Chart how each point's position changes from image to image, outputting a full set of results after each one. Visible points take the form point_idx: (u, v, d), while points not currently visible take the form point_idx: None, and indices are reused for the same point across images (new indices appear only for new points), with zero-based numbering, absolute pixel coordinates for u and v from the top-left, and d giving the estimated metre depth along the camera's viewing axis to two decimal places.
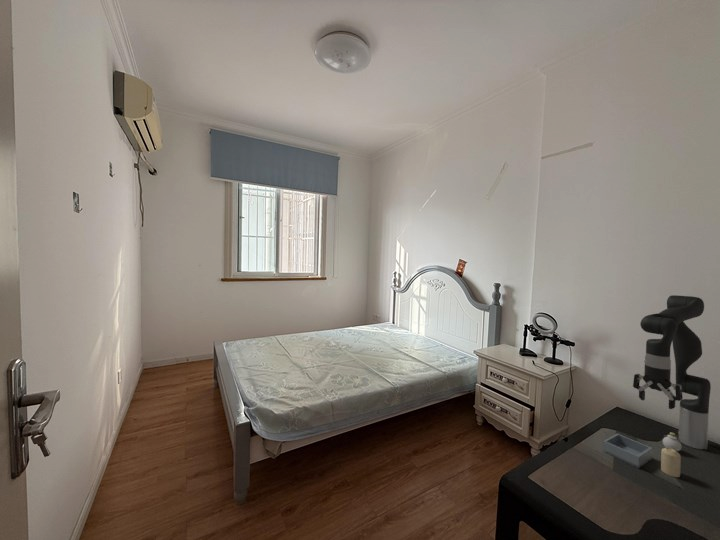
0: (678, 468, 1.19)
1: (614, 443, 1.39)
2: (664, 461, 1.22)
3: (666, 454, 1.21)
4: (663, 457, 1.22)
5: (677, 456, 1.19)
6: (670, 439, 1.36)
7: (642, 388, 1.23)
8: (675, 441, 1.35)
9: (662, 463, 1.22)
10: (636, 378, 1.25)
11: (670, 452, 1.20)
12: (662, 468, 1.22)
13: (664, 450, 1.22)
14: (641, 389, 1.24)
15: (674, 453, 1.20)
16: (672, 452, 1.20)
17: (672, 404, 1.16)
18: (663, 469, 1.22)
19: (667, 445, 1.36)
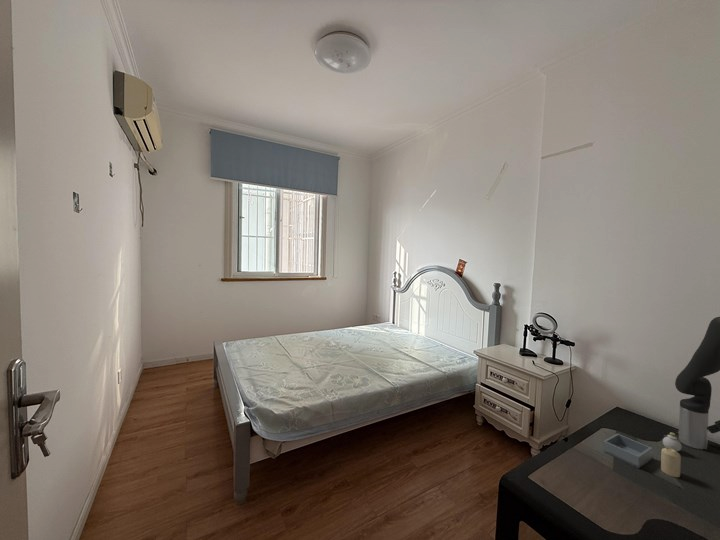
0: (678, 468, 1.19)
1: (614, 443, 1.39)
2: (664, 461, 1.22)
3: (666, 454, 1.21)
4: (663, 457, 1.22)
5: (677, 456, 1.19)
6: (670, 439, 1.36)
7: None
8: (675, 441, 1.35)
9: (662, 463, 1.22)
10: None
11: (670, 452, 1.20)
12: (662, 468, 1.22)
13: (664, 450, 1.22)
14: None
15: (674, 453, 1.20)
16: (672, 452, 1.20)
17: None
18: (663, 469, 1.22)
19: (667, 445, 1.36)
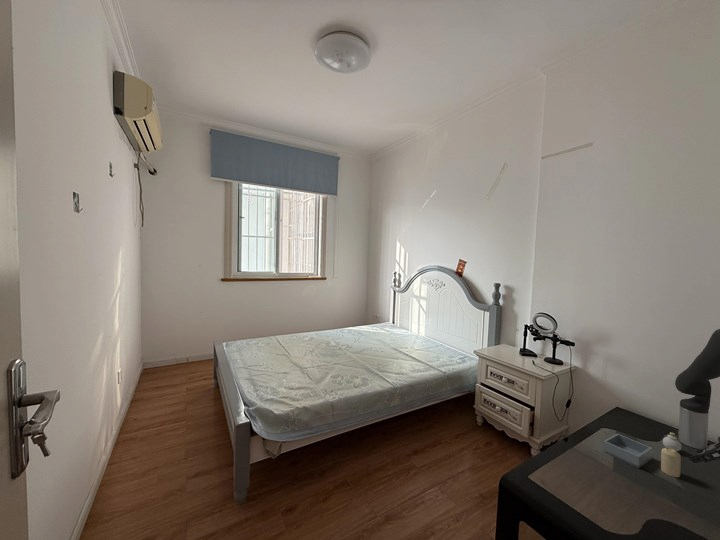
0: (678, 468, 1.19)
1: (614, 443, 1.39)
2: (664, 461, 1.22)
3: (666, 454, 1.21)
4: (663, 457, 1.22)
5: (677, 456, 1.19)
6: (670, 439, 1.36)
7: None
8: (675, 441, 1.35)
9: (662, 463, 1.22)
10: (717, 458, 1.06)
11: (670, 452, 1.20)
12: (662, 468, 1.22)
13: (664, 450, 1.22)
14: None
15: (674, 453, 1.20)
16: (672, 452, 1.20)
17: None
18: (663, 469, 1.22)
19: (667, 445, 1.36)
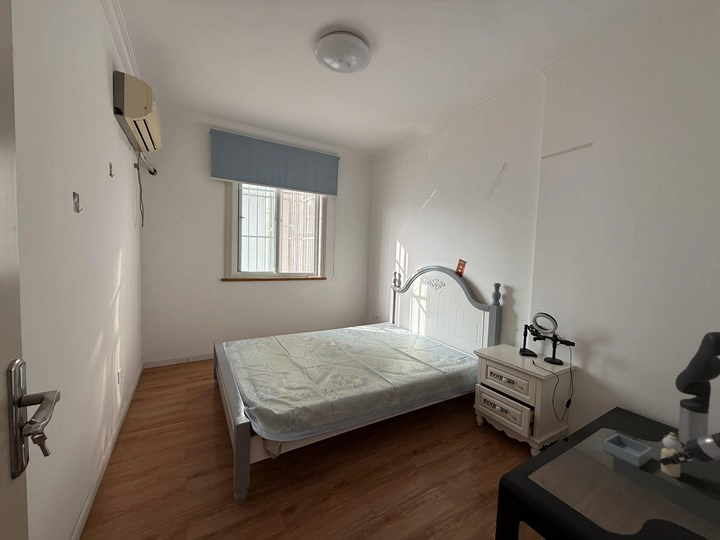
0: (678, 468, 1.19)
1: (614, 443, 1.39)
2: None
3: (666, 454, 1.21)
4: (663, 457, 1.22)
5: None
6: (670, 439, 1.36)
7: None
8: (675, 441, 1.35)
9: None
10: (683, 461, 1.14)
11: (670, 452, 1.20)
12: (662, 468, 1.22)
13: (664, 450, 1.22)
14: None
15: None
16: (672, 452, 1.20)
17: None
18: (663, 469, 1.22)
19: (667, 445, 1.36)
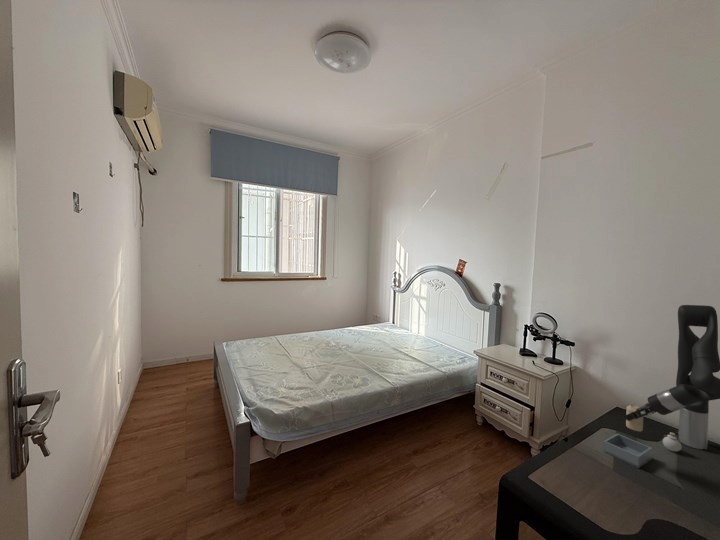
0: (641, 423, 1.28)
1: (614, 443, 1.39)
2: None
3: (630, 410, 1.30)
4: (628, 413, 1.31)
5: None
6: (670, 439, 1.36)
7: None
8: (675, 441, 1.35)
9: None
10: (644, 415, 1.23)
11: (634, 408, 1.29)
12: (627, 424, 1.31)
13: (628, 407, 1.31)
14: None
15: None
16: (635, 408, 1.29)
17: None
18: (628, 425, 1.31)
19: (667, 445, 1.36)
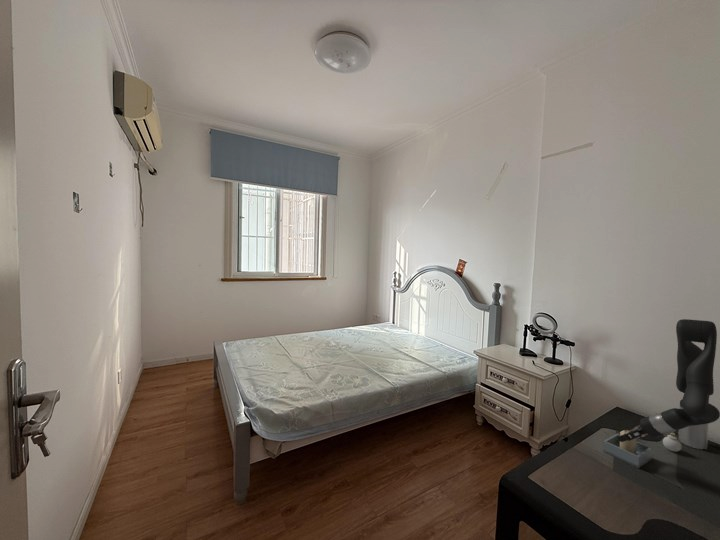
0: (634, 448, 1.30)
1: (614, 443, 1.39)
2: (622, 443, 1.32)
3: None
4: None
5: None
6: (670, 439, 1.36)
7: None
8: (675, 441, 1.35)
9: (620, 444, 1.33)
10: (638, 437, 1.25)
11: None
12: None
13: (622, 432, 1.33)
14: None
15: None
16: None
17: None
18: None
19: (667, 445, 1.36)
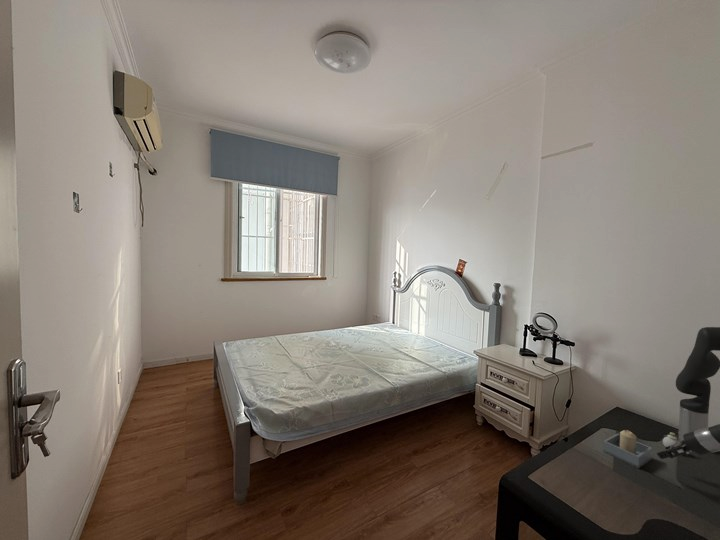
0: (634, 448, 1.30)
1: (614, 443, 1.39)
2: (622, 442, 1.32)
3: (623, 435, 1.32)
4: (621, 439, 1.33)
5: (633, 437, 1.30)
6: (670, 439, 1.36)
7: None
8: (675, 441, 1.35)
9: (620, 444, 1.33)
10: (682, 454, 1.13)
11: (627, 434, 1.31)
12: None
13: (622, 432, 1.33)
14: None
15: (630, 435, 1.31)
16: (629, 434, 1.31)
17: None
18: None
19: (667, 445, 1.36)
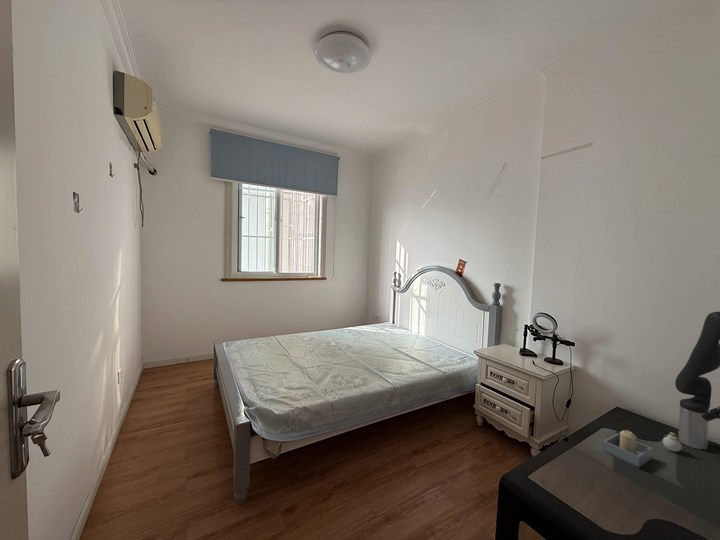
0: (634, 448, 1.30)
1: (614, 443, 1.39)
2: (621, 442, 1.33)
3: (623, 435, 1.32)
4: (621, 439, 1.33)
5: (633, 437, 1.30)
6: (670, 439, 1.36)
7: None
8: (675, 441, 1.35)
9: (620, 444, 1.33)
10: None
11: (627, 434, 1.31)
12: None
13: (622, 432, 1.33)
14: None
15: (630, 435, 1.31)
16: (629, 434, 1.31)
17: None
18: None
19: (667, 445, 1.36)
